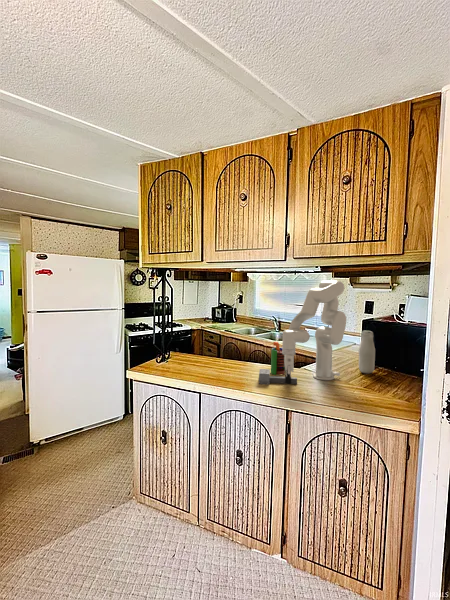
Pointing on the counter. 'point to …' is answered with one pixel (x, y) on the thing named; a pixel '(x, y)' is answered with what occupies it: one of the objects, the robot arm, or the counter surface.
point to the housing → (264, 376)
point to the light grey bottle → (366, 352)
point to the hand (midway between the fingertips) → (287, 382)
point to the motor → (277, 360)
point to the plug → (281, 379)
